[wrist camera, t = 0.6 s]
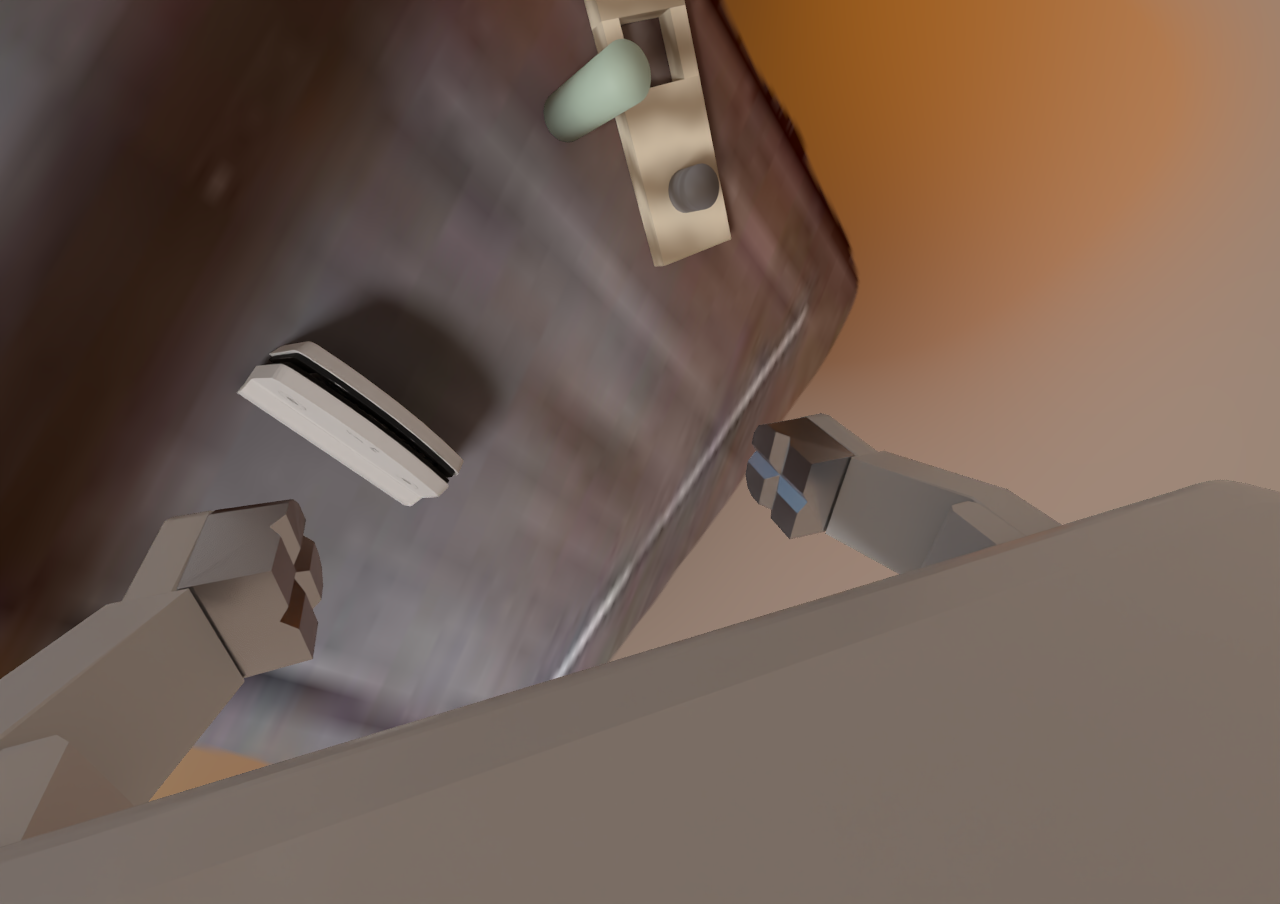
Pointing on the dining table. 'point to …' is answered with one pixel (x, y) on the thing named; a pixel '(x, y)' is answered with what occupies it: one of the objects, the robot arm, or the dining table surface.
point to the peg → (599, 91)
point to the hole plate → (668, 137)
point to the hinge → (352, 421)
